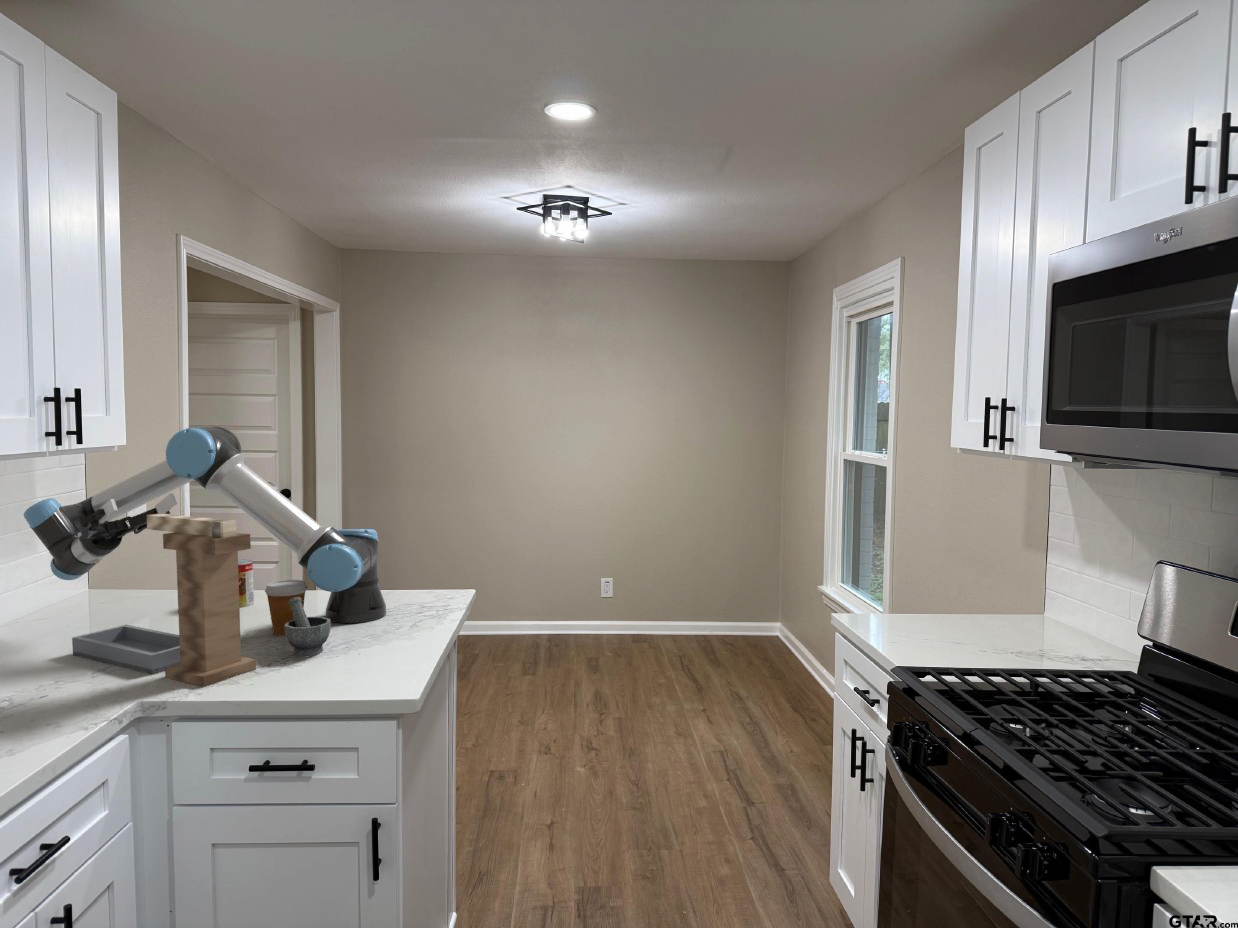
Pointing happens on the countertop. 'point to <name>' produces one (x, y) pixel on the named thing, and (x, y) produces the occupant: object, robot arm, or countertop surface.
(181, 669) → the post stand
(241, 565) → the canned food
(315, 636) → the mortar and pestle
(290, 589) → the disposable coffee cup
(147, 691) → the countertop surface
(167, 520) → the bar
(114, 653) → the tray
